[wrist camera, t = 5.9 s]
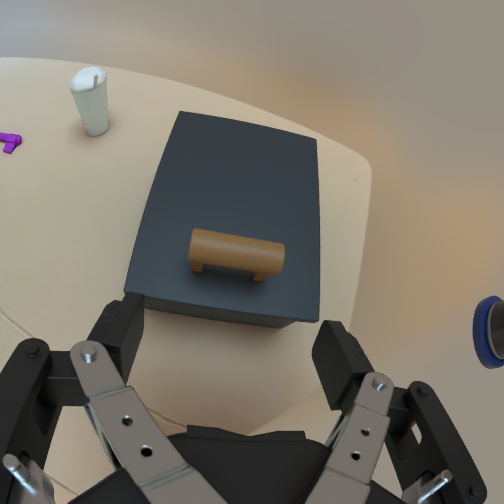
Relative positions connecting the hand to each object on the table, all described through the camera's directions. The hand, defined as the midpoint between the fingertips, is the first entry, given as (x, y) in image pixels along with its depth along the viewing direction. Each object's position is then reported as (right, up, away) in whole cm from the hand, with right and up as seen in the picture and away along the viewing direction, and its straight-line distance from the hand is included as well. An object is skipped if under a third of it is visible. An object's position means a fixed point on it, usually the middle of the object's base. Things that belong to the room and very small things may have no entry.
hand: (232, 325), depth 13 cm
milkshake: (-19, +19, +19) cm, 33 cm away
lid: (0, +7, +10) cm, 12 cm away
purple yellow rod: (-38, +20, +15) cm, 46 cm away
